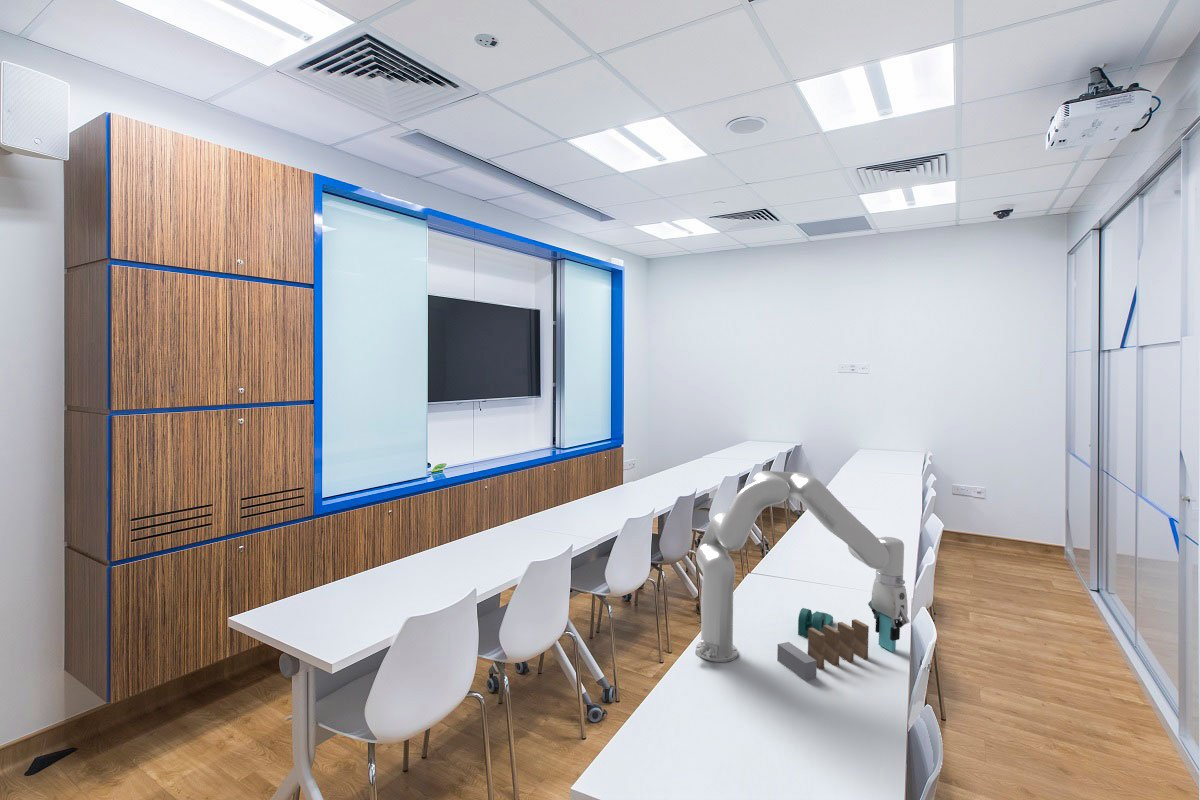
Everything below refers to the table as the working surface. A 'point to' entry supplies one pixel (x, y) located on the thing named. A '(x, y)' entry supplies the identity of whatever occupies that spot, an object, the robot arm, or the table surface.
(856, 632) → the domino
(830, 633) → the domino
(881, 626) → the teal domino
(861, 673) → the table surface
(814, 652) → the domino
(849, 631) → the domino
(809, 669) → the block
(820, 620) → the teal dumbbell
